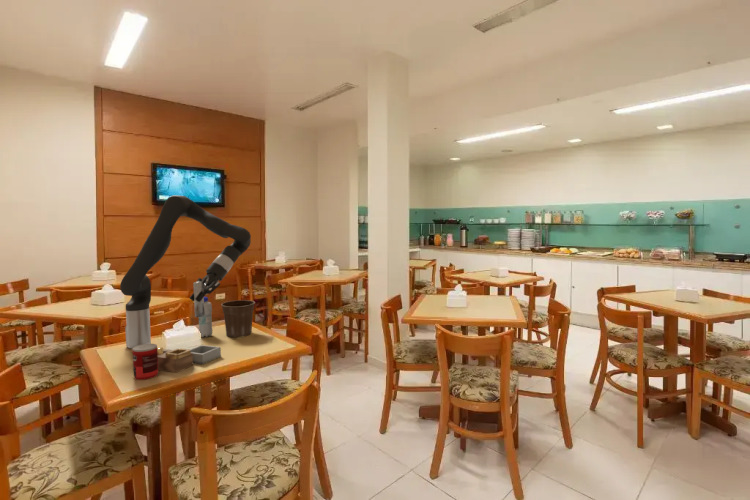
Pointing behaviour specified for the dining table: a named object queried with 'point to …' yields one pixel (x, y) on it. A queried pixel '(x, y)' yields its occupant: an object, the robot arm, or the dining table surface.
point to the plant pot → (238, 317)
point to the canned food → (145, 361)
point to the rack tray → (205, 353)
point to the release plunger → (160, 350)
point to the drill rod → (198, 305)
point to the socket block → (175, 360)
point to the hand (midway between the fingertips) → (194, 300)
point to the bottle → (206, 319)
